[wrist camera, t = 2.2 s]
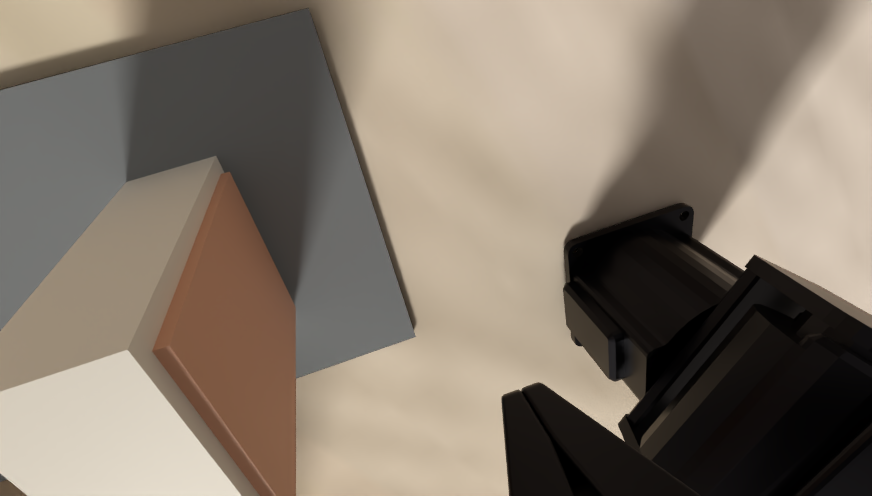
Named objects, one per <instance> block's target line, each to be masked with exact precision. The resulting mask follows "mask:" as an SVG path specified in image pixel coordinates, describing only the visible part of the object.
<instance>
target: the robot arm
mask: <svg viewBox="0 0 872 496" xmlns="http://www.w3.org/2000/svg"><path fill="white" fill-rule="evenodd" d="M681 214H682V215H681ZM680 215H681V216H680ZM693 215H694V211H693V209H692V207H690V206H688V205H687V204H684V203H679V204H676V205H673V206H670V207H667V208H664V209H661V210H658V211H655V212H652V213H649V214H646V215H643V216H641V217H638V218H635V219H632V220H629V221H626V222H623V223H620V224H617V225H614V226H611V227H608V228H605V229H602V230H599V231H596V232H593V233H590V234H587V235H584V236H581V237H579V238H576V239H573V240H571V241H569V242H568V243H567V244H566V246H565V247H564V260H565V272H566V284H565V286H564V288H563V293H564V304H565V315H566V325H567V327H568V328H569V329H570V330H571V338H572V340H573V341H574V343H575V344H576V345H577V346H583V347H584V348H585V350H586V351H587V352H588V353H589V355H590V356H591V357H592V358H593V360H594V361H595V362H596V363H597V365H598V366H599V367H600V369H601V370H602V371H603V372H604V374H605V375H606V376H607V377H608V379H610V380H612V381H615V382H616V381H618V380H621V379H622V380H623V381H624V382H625V383H626V385H627V386H628V387H629V388H630V390H631V391H632V392H633V393H634V394H635V396H636V397H637V398H638V399H639V402H638V403H637V405H636V406H635V407H634V408H633V410H632V411H631V412H630V413H629V414H626V415H625V416H624V417H623V418H622V419H621V421H620V422H619V423H618V426H619V428H620V431H621V433H622V435H623V438H624V440H625V442H624V441H623V440H622V439H620V438H619V437H617V436H616V435H614V434H613V433H612V432H610V431H609V430H607V429H606V428H605V427H603V426H602V425H600V424H599V423H598V422H596V421H595V420H593V419H592V418H590V417H589V416H588V415H586V414H585V413H583V412H582V411H581V410H579V409H578V408H576V407H575V406H574V405H572V404H571V403H569V402H568V401H566V400H565V399H564V398H562V397H561V396H559V395H558V394H557V393H555V392H554V391H552V390H551V389H550V388H548V387H547V386H545V385H544V384H542V383H539V382H538V383H534V384H532V385H529V386H526V387H524V388H522V390H521V391H520V390H515V391H513V392H510V393H507V394H504V395H503V396H502V413H503V425H504V438H505V450H506V462H507V474H508V487H509V496H872V315H870V314H869V313H867V312H865V311H863V310H862V309H860V308H858V307H856V306H854V305H853V304H851V303H849V302H847V301H846V300H844V299H842V298H840V297H838V296H837V295H835V294H833V293H831V292H830V291H828V290H826V289H824V288H822V287H821V286H819V285H817V284H815V283H812V282H810V281H808V280H806V279H804V278H802V277H800V276H798V275H796V274H794V273H792V272H790V271H788V270H786V269H783V268H781V267H779V266H777V265H775V264H773V263H771V262H769V261H767V260H765V259H763V258H761V257H759V256H757V255H754V256H753V257H752V258H751V259H750V261H749V262H748V263H747V264H746V266H745V267H746V268H747V269H746V270H745V271H744V270H742V269H741V268H739V267H737V266H736V265H734V264H733V263H731V262H730V261H728V260H727V259H725V258H723V257H722V256H720V255H719V254H717V253H716V252H714V251H713V250H711V249H710V248H708V247H706V246H705V245H703V244H702V243H700V242H699V241H697V240H696V239H694V238H692V227H693ZM576 248H578V250H577V251H576V252H575V253H573V251H574V250H575V249H576Z"/></svg>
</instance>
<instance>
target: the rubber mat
mask: <svg viewBox="0 0 872 496" xmlns="http://www.w3.org/2000/svg"><path fill="white" fill-rule="evenodd" d="M213 156H216V157H217V159H218V161H219V163H220V165H221V167H222V169H223V171H224V173H226V172H230V173H231V175H232V177H233V179H234V181H235V184H236V186H237V188H238V190H239V192H240V194H241V196H242V198H243V200H244V202H245V204H246V206H247V208H248V210H249V212H250V214H251V216H252V218H253V220H254V223H255V225H256V227H257V229H258V231H259V233H260V235H261V237H262V239H263V241H264V243H265V245H266V247H267V249H268V251H269V253H270V255H271V257H272V259H273V262H274V264H275V266H276V268H277V270H278V272H279V274H280V276H281V278H282V280H283V282H284V284H285V286H286V288H287V290H288V292H289V294H290V296H291V298H292V301H293V303H294V305H295V307H296V378H299V377H302V376H305V375H307V374H310V373H313V372H316V371H319V370H322V369H325V368H327V367H330V366H333V365H336V364H339V363H342V362H345V361H348V360H350V359H353V358H356V357H359V356H362V355H365V354H368V353H370V352H373V351H376V350H379V349H382V348H385V347H388V346H391V345H393V344H396V343H399V342H402V341H405V340H408V339H411V338H413V337H416V336H415V333H414V330H413V327H412V324H411V321H410V318H409V315H408V312H407V309H406V306H405V302H404V299H403V296H402V293H401V290H400V287H399V284H398V281H397V278H396V275H395V272H394V269H393V266H392V263H391V259H390V256H389V253H388V250H387V247H386V244H385V241H384V238H383V235H382V232H381V229H380V226H379V223H378V219H377V216H376V213H375V210H374V207H373V204H372V201H371V198H370V195H369V192H368V189H367V186H366V183H365V180H364V176H363V173H362V170H361V167H360V164H359V161H358V158H357V155H356V152H355V149H354V146H353V143H352V140H351V137H350V133H349V130H348V127H347V124H346V121H345V118H344V115H343V112H342V109H341V106H340V103H339V100H338V97H337V94H336V90H335V87H334V84H333V81H332V78H331V75H330V72H329V69H328V66H327V63H326V60H325V57H324V54H323V51H322V47H321V44H320V41H319V38H318V35H317V32H316V29H315V26H314V23H313V20H312V17H311V14H310V11H309V8H306V9H302V10H299V11H295V12H291V13H287V14H284V15H280V16H276V17H272V18H269V19H265V20H261V21H257V22H253V23H250V24H246V25H242V26H238V27H235V28H231V29H227V30H223V31H220V32H216V33H212V34H208V35H205V36H201V37H197V38H193V39H190V40H186V41H182V42H178V43H174V44H171V45H167V46H163V47H159V48H156V49H152V50H148V51H144V52H141V53H137V54H133V55H129V56H126V57H122V58H118V59H114V60H111V61H107V62H103V63H99V64H95V65H92V66H88V67H84V68H80V69H77V70H73V71H69V72H65V73H62V74H58V75H54V76H50V77H47V78H43V79H39V80H35V81H32V82H28V83H24V84H20V85H16V86H13V87H9V88H5V89H1V90H0V331H1V330H2V328H3V327H4V326H5V325H6V324H7V323H8V321H9V320H10V319H11V318H12V317H13V315H14V314H15V313H16V312H17V311H18V309H19V308H20V307H21V306H22V305H23V304H24V302H25V301H26V300H27V299H28V298H29V296H30V295H31V294H32V293H33V292H34V291H35V289H36V288H37V287H38V286H39V285H40V283H41V282H42V281H43V280H44V279H45V278H46V276H47V275H48V274H49V273H50V272H51V270H52V269H53V268H54V267H55V266H56V265H57V263H58V262H59V261H60V260H61V259H62V257H63V256H64V255H65V254H66V253H67V251H68V250H69V249H70V248H71V247H72V246H73V244H74V243H75V242H76V241H77V240H78V238H79V237H80V236H81V235H82V234H83V233H84V231H85V230H86V229H87V228H88V227H89V225H90V224H91V223H92V222H93V221H94V220H95V218H96V217H97V216H98V215H99V214H100V212H101V211H102V210H103V209H104V208H105V207H106V205H107V204H108V203H109V202H110V201H111V199H112V198H113V197H114V196H115V195H116V193H117V192H118V191H119V190H120V189H121V188H122V186H123V185H124V184H125V183H126V182H128V181H131V180H135V179H138V178H142V177H145V176H149V175H152V174H155V173H159V172H162V171H166V170H169V169H172V168H176V167H179V166H183V165H186V164H189V163H193V162H196V161H200V160H203V159H207V158H210V157H213ZM4 480H7V479H6V478H5V477H4V476H3V475H2V474H0V482H1V481H4Z"/></svg>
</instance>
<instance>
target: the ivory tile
mask: <svg viewBox="0 0 872 496" xmlns="http://www.w3.org/2000/svg"><path fill="white" fill-rule="evenodd" d="M0 474H2V475H3V476H4V477H5V478H6V479H8V480H9V481H10V482H11V483H13V484H14V485H15V486H16V487H17V488H19V489H20V490H21V491H22V492H23V493H25V494H26V495H27V496H296V307H295V305H294V303H293V301H292V298H291V296H290V294H289V292H288V290H287V288H286V286H285V284H284V282H283V280H282V278H281V276H280V274H279V272H278V270H277V268H276V266H275V264H274V262H273V259H272V257H271V255H270V253H269V251H268V249H267V247H266V245H265V243H264V241H263V239H262V237H261V235H260V233H259V231H258V229H257V227H256V225H255V223H254V220H253V218H252V216H251V214H250V212H249V210H248V208H247V206H246V204H245V202H244V200H243V198H242V196H241V194H240V192H239V190H238V188H237V186H236V184H235V181H234V179H233V177H232V175H231V173H230V172H226V173H224V171H223V169H222V167H221V165H220V163H219V161H218V159H217V157H216V156H213V157H210V158H207V159H203V160H200V161H196V162H193V163H189V164H186V165H183V166H179V167H176V168H172V169H169V170H166V171H162V172H159V173H155V174H152V175H149V176H145V177H142V178H138V179H135V180H131V181H128V182H126V183H125V184H124V185H123V186H122V188H121V189H120V190H119V191H118V192H117V193H116V195H115V196H114V197H113V198H112V199H111V201H110V202H109V203H108V204H107V205H106V207H105V208H104V209H103V210H102V211H101V212H100V214H99V215H98V216H97V217H96V218H95V220H94V221H93V222H92V223H91V224H90V225H89V227H88V228H87V229H86V230H85V231H84V233H83V234H82V235H81V236H80V237H79V238H78V240H77V241H76V242H75V243H74V244H73V246H72V247H71V248H70V249H69V250H68V251H67V253H66V254H65V255H64V256H63V257H62V259H61V260H60V261H59V262H58V263H57V265H56V266H55V267H54V268H53V269H52V270H51V272H50V273H49V274H48V275H47V276H46V278H45V279H44V280H43V281H42V282H41V283H40V285H39V286H38V287H37V288H36V289H35V291H34V292H33V293H32V294H31V295H30V296H29V298H28V299H27V300H26V301H25V302H24V304H23V305H22V306H21V307H20V308H19V309H18V311H17V312H16V313H15V314H14V315H13V317H12V318H11V319H10V320H9V321H8V323H7V324H6V325H5V326H4V327H3V328H2V330H1V331H0Z"/></svg>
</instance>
